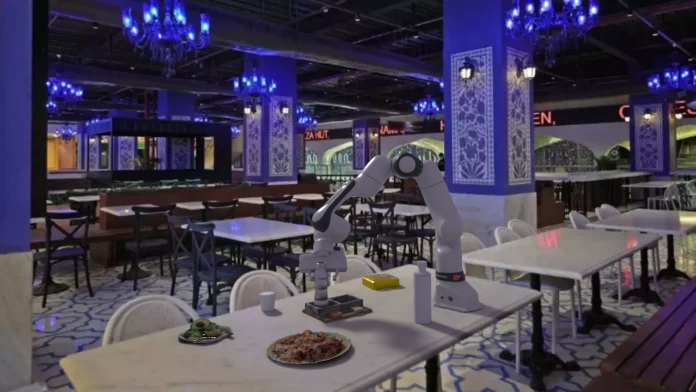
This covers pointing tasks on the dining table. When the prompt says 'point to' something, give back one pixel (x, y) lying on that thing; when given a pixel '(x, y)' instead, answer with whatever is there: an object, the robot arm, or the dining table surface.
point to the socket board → (337, 308)
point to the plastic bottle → (321, 286)
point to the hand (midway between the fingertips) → (323, 280)
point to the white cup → (267, 300)
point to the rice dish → (308, 347)
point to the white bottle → (422, 294)
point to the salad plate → (205, 331)
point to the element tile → (380, 281)
